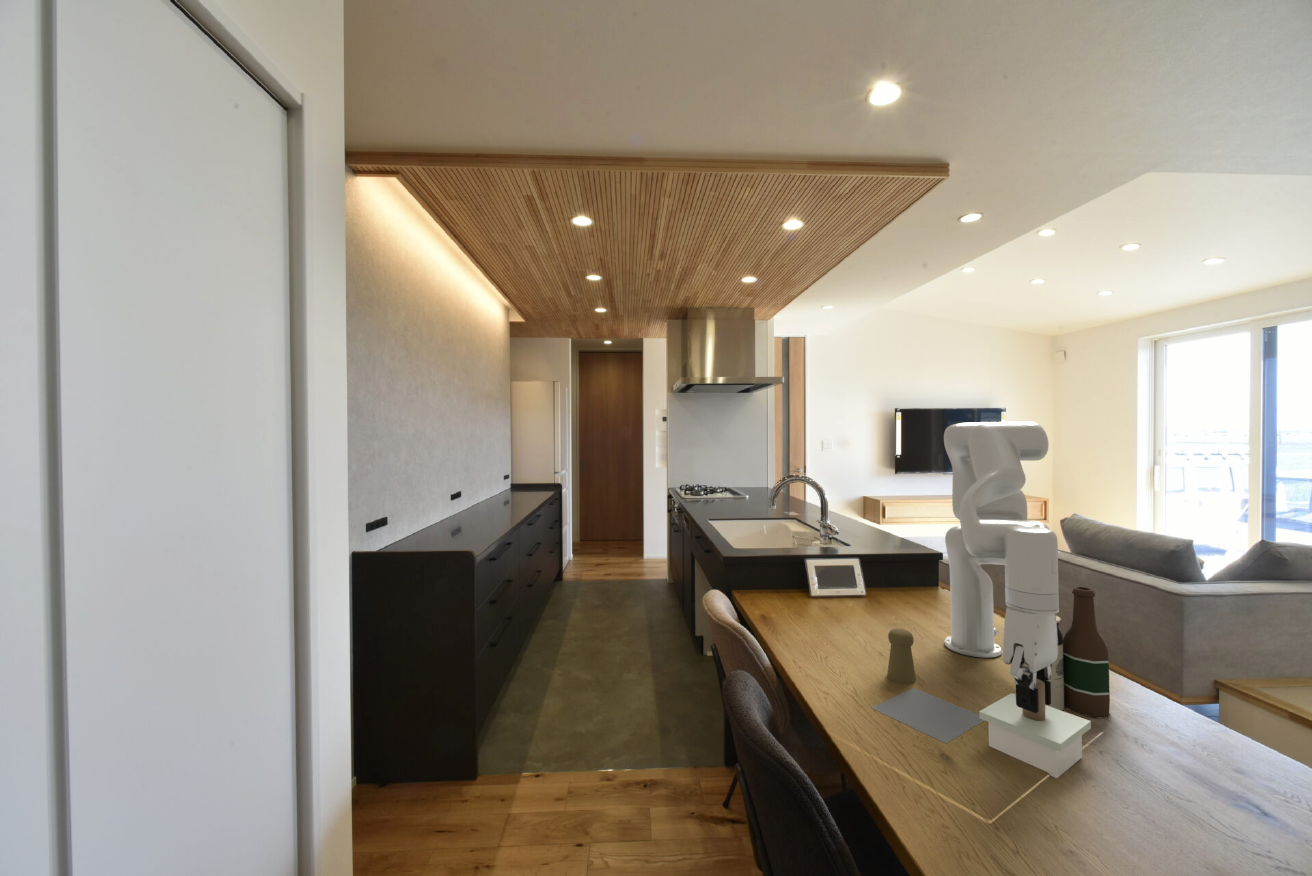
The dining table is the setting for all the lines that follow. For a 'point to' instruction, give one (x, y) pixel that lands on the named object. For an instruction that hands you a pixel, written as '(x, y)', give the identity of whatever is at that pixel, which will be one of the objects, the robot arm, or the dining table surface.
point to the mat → (929, 714)
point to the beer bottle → (1085, 660)
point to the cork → (901, 657)
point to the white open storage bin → (1035, 751)
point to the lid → (1037, 721)
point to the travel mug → (1056, 674)
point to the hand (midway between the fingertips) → (1033, 704)
